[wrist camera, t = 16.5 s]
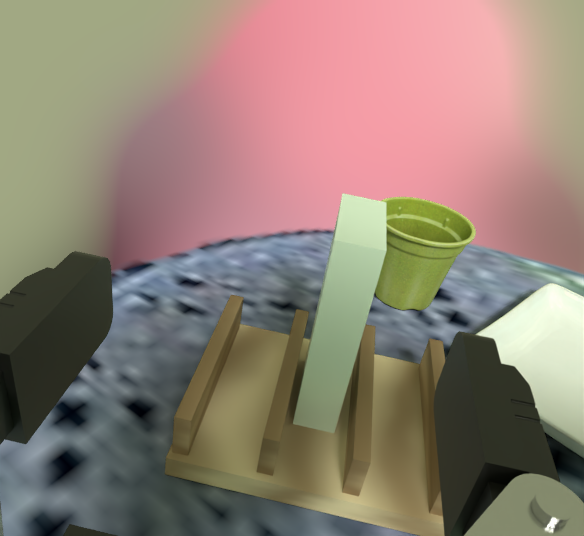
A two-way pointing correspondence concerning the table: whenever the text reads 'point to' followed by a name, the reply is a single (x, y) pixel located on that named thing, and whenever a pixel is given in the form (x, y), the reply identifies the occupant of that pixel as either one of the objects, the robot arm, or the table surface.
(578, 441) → the salad plate
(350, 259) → the pale green block
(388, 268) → the plant pot
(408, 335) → the table surface
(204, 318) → the table surface
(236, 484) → the drying rack
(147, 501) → the table surface
